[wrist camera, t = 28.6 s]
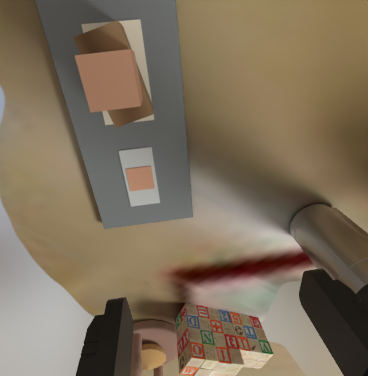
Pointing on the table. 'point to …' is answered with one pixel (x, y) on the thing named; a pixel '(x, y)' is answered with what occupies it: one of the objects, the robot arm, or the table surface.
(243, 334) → the stack of blocks
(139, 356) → the hourglass
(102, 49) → the walnut brick
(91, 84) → the terracotta cube
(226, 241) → the table surface
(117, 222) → the board
